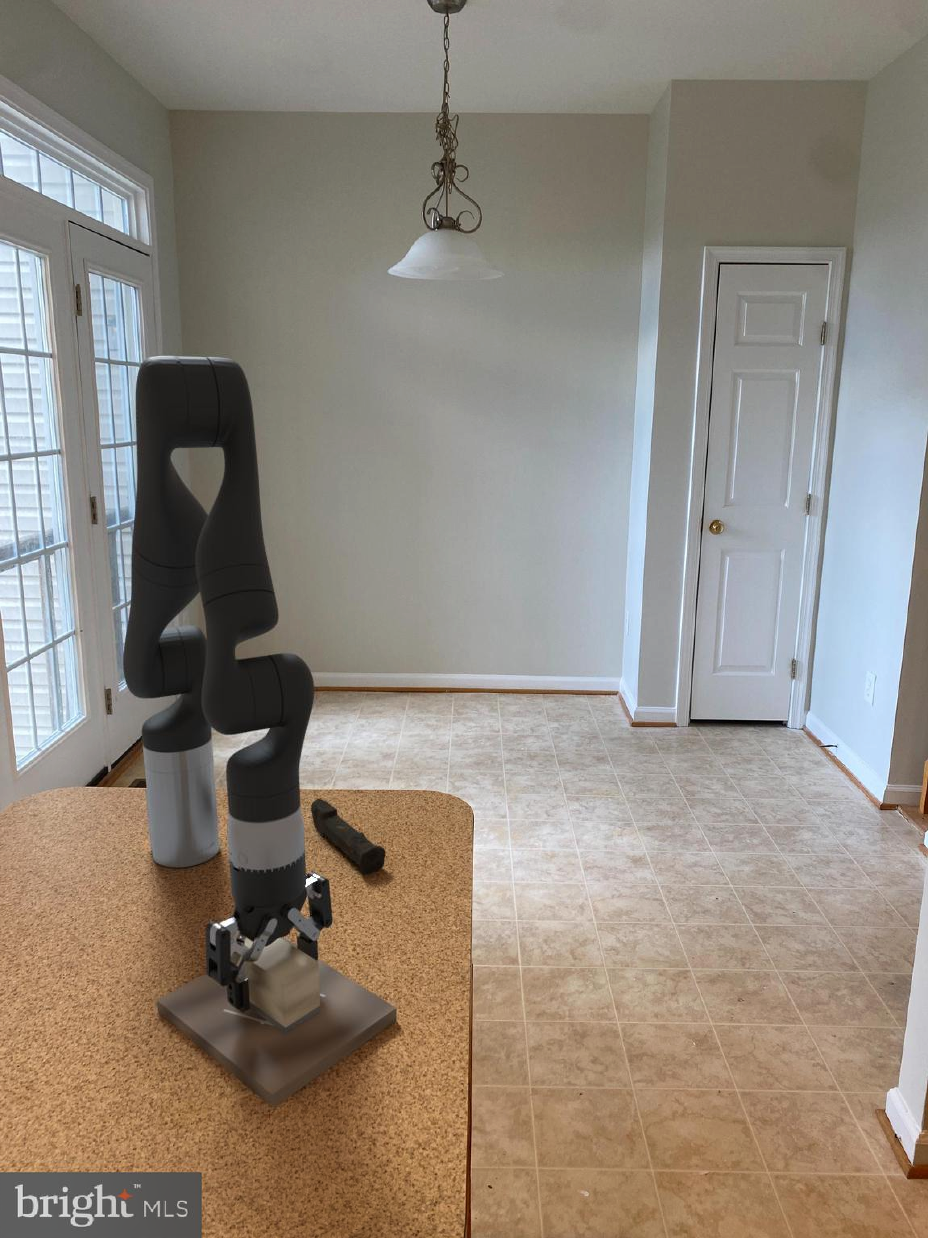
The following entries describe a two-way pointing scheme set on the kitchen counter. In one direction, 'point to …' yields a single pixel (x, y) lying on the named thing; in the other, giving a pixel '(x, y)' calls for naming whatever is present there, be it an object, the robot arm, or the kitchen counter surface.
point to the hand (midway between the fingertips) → (274, 987)
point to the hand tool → (347, 837)
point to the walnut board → (277, 1032)
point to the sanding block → (284, 985)
